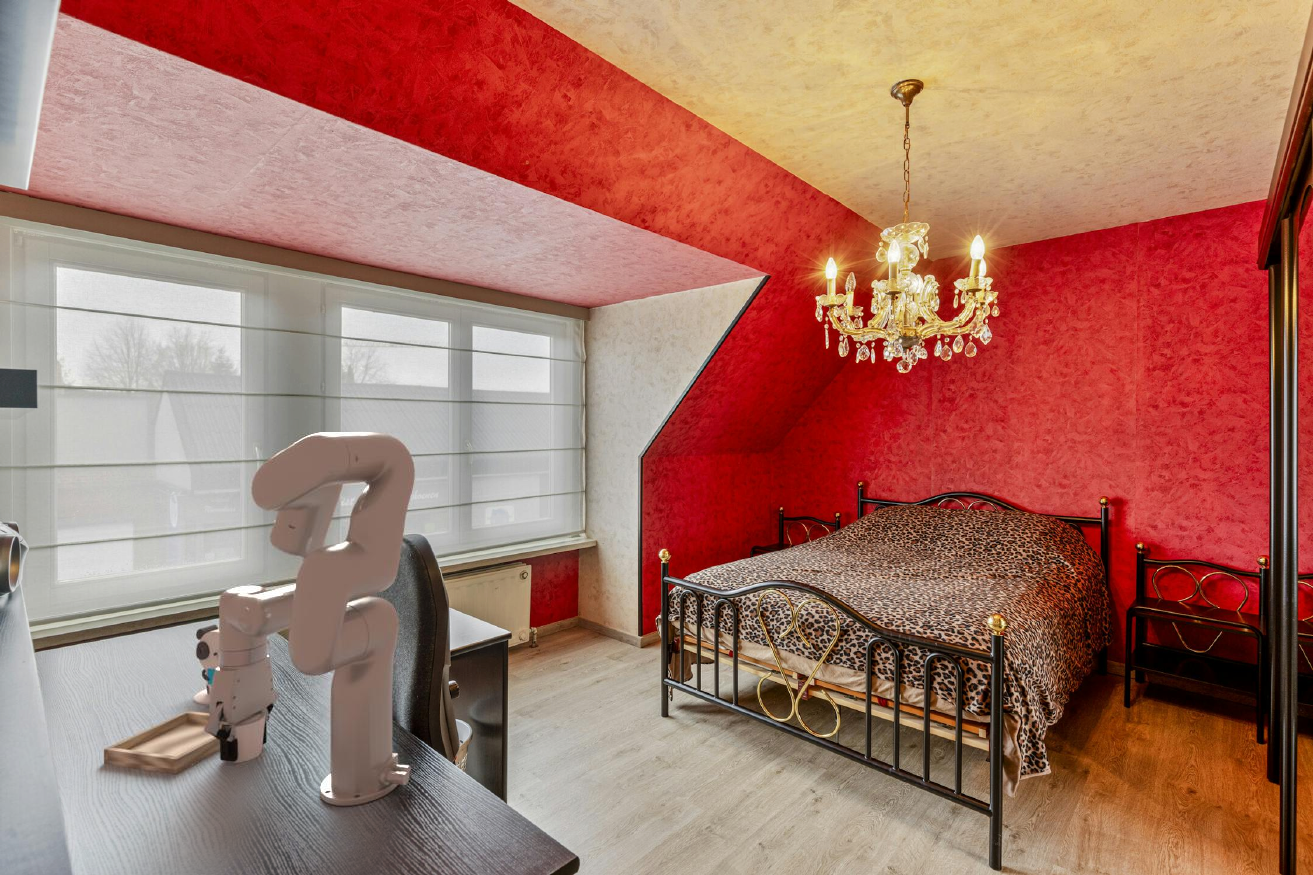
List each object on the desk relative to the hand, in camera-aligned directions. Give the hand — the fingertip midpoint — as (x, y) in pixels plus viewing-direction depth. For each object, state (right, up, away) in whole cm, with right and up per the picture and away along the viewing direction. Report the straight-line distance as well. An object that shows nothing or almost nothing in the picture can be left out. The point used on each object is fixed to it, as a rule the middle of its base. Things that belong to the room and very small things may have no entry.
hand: (243, 750), depth 116 cm
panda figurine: (-23, -1, +27) cm, 36 cm away
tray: (-14, -1, +3) cm, 14 cm away
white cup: (0, -1, 0) cm, 1 cm away
